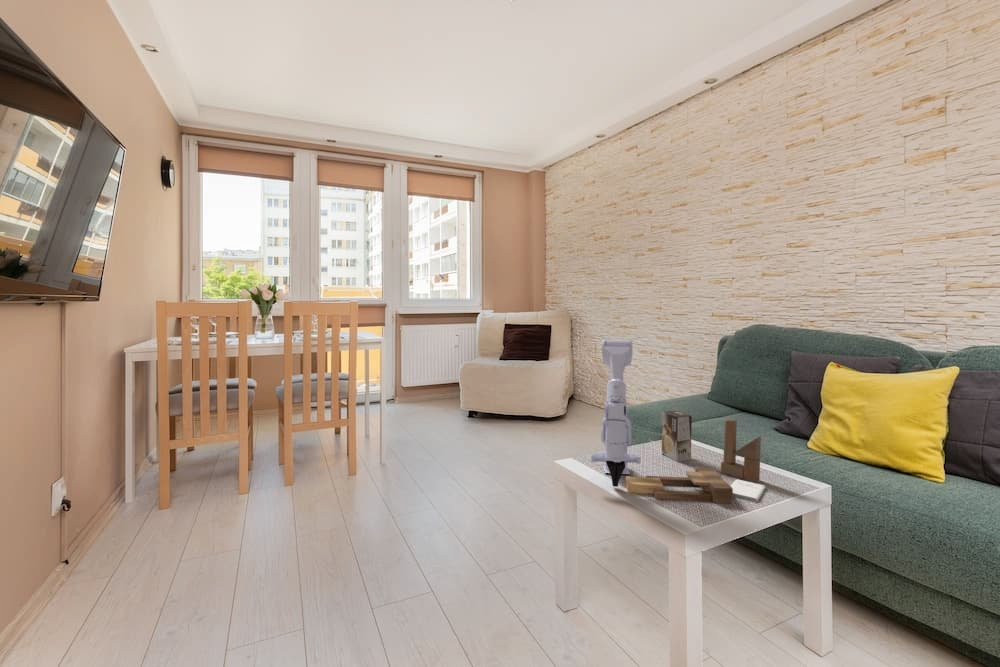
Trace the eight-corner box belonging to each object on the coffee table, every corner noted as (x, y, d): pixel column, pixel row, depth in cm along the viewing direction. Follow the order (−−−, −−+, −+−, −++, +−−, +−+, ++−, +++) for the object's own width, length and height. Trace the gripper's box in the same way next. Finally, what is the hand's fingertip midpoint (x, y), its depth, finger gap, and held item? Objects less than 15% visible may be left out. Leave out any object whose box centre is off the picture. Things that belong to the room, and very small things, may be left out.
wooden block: (755, 483, 143) (756, 426, 142) (720, 473, 151) (721, 419, 150) (759, 480, 145) (761, 424, 144) (725, 470, 153) (727, 417, 152)
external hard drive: (725, 496, 134) (735, 483, 144) (757, 504, 129) (765, 490, 139) (725, 491, 134) (735, 478, 144) (757, 498, 129) (765, 484, 139)
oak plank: (625, 485, 142) (625, 476, 142) (659, 487, 141) (659, 477, 140) (627, 493, 136) (627, 483, 136) (662, 495, 135) (662, 485, 135)
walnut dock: (644, 479, 146) (644, 466, 146) (711, 481, 144) (711, 468, 144) (656, 500, 130) (657, 485, 130) (732, 503, 128) (732, 488, 128)
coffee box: (692, 460, 164) (693, 415, 163) (677, 461, 162) (677, 417, 161) (675, 452, 173) (675, 410, 172) (660, 453, 171) (661, 411, 170)
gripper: (592, 444, 135) (592, 489, 136) (642, 446, 134) (642, 491, 135) (590, 437, 142) (589, 480, 143) (638, 438, 141) (637, 482, 142)
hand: (615, 485), depth 139 cm, fingers closed
